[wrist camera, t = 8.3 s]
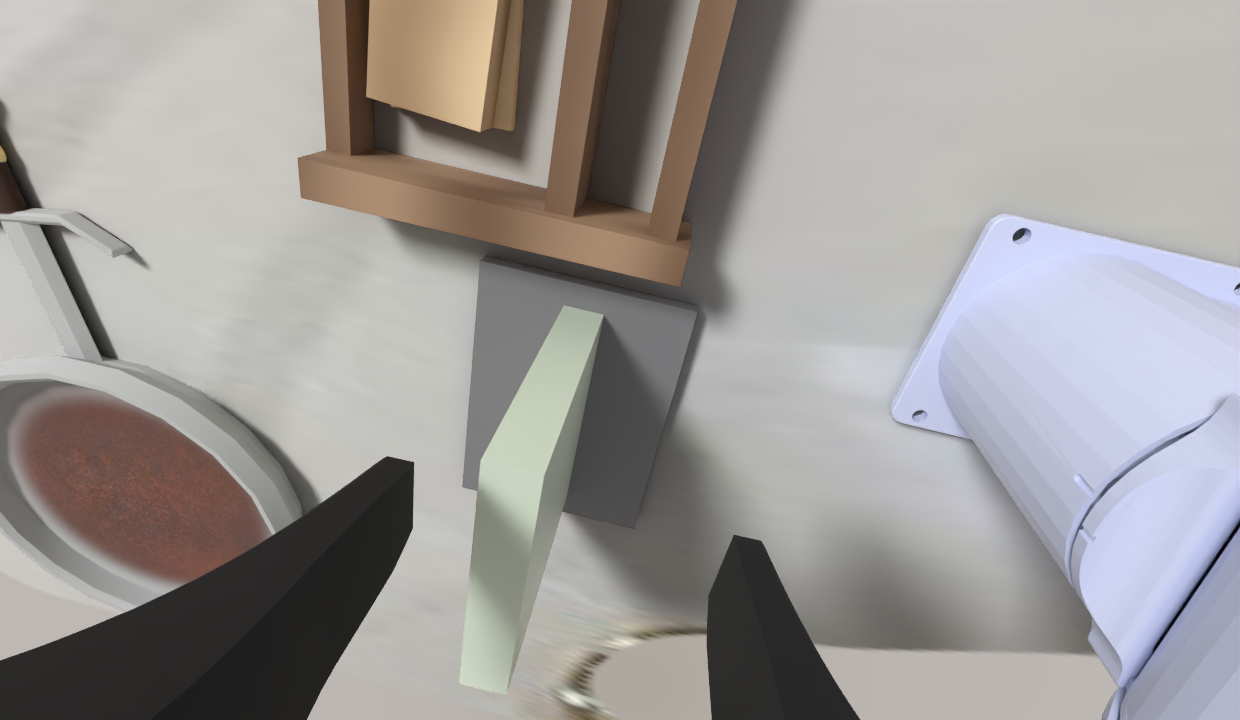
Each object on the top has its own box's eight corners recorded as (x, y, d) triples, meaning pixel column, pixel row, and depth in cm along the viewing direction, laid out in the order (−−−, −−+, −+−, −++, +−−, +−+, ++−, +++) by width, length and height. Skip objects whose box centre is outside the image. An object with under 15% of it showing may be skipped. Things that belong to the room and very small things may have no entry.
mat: (697, 305, 21) (697, 312, 20) (635, 519, 26) (633, 528, 26) (485, 255, 21) (480, 260, 20) (467, 478, 26) (462, 487, 26)
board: (603, 314, 21) (543, 475, 13) (566, 494, 25) (506, 695, 18) (564, 305, 21) (480, 460, 13) (534, 486, 25) (458, 683, 18)
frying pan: (131, 75, 18) (322, 657, 31) (203, 73, 20) (351, 611, 33) (-329, 56, 19) (38, 616, 32) (-208, 57, 22) (87, 576, 35)
